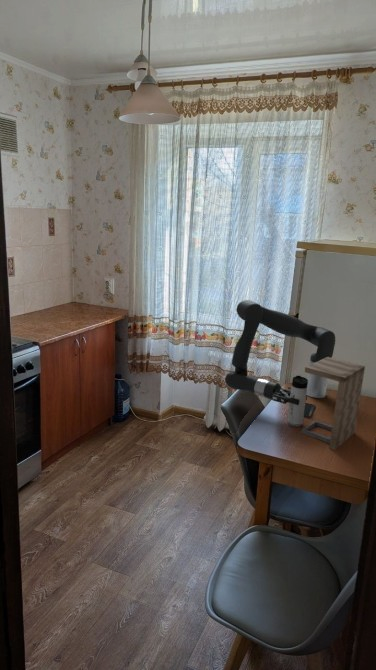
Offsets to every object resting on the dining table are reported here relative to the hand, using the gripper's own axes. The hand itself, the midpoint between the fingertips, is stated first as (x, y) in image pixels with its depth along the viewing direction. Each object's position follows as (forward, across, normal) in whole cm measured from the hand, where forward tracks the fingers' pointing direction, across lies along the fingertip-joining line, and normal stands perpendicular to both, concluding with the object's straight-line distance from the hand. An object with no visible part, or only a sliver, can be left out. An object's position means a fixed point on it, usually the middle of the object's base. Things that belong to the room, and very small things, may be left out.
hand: (302, 400), depth 188 cm
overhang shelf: (+11, 0, +11) cm, 16 cm away
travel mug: (-2, 0, +11) cm, 11 cm away
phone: (-6, +16, +12) cm, 20 cm away
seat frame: (+10, 0, +11) cm, 15 cm away
